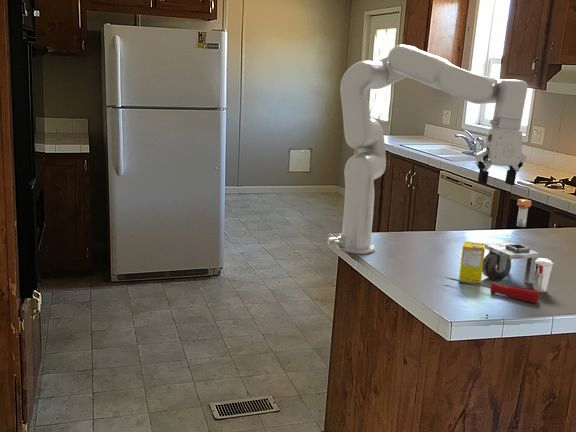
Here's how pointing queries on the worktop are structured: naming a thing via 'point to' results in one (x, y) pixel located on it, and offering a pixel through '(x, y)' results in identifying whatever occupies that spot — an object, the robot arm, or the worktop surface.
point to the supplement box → (472, 262)
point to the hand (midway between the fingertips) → (495, 184)
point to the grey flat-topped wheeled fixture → (507, 260)
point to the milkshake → (542, 274)
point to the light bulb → (523, 212)
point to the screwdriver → (509, 291)
